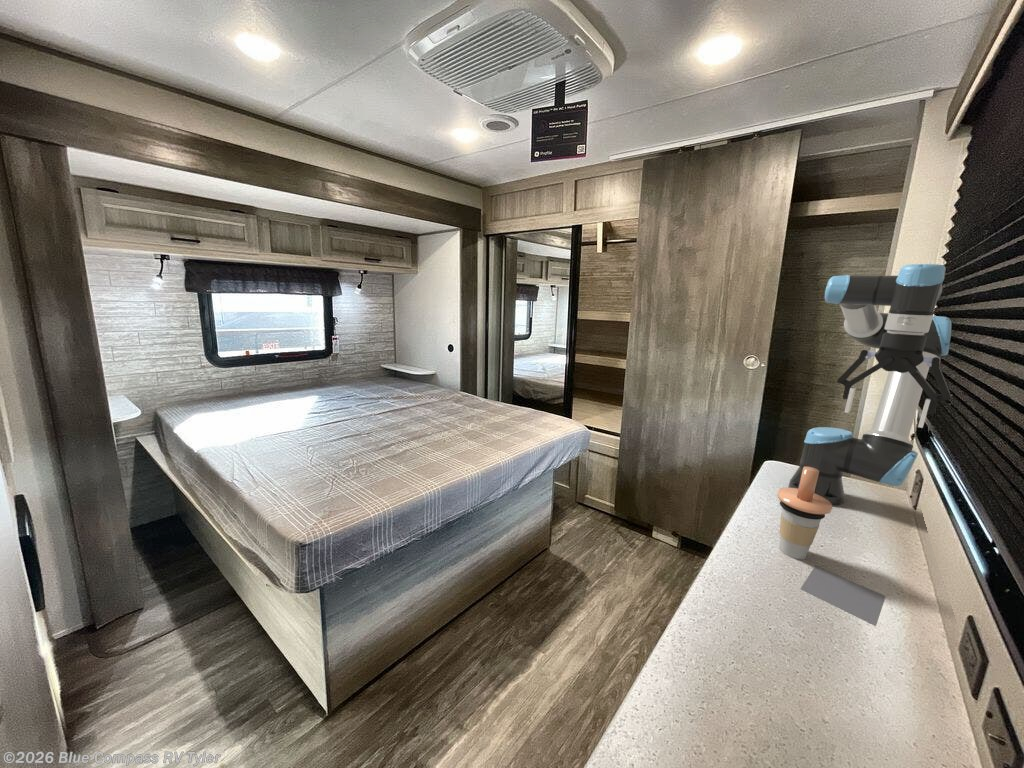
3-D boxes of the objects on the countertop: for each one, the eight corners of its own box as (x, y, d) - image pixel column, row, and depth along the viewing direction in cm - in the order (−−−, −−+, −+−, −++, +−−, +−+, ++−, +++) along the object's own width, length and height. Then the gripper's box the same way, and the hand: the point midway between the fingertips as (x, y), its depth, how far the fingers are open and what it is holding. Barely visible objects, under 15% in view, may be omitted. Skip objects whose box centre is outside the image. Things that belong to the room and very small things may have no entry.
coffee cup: (821, 568, 99) (835, 514, 95) (779, 562, 101) (791, 509, 97) (802, 545, 108) (814, 495, 104) (764, 539, 110) (774, 490, 106)
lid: (785, 486, 108) (791, 456, 106) (836, 504, 100) (844, 471, 98) (770, 499, 101) (777, 467, 99) (825, 519, 93) (833, 484, 91)
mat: (815, 567, 99) (815, 565, 99) (884, 598, 90) (885, 595, 90) (799, 591, 91) (800, 588, 91) (874, 628, 81) (875, 625, 81)
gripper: (835, 328, 100) (817, 408, 105) (985, 340, 82) (955, 437, 87) (842, 327, 105) (824, 404, 110) (985, 338, 87) (956, 430, 92)
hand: (882, 418), depth 99 cm, fingers open, 13 cm apart
